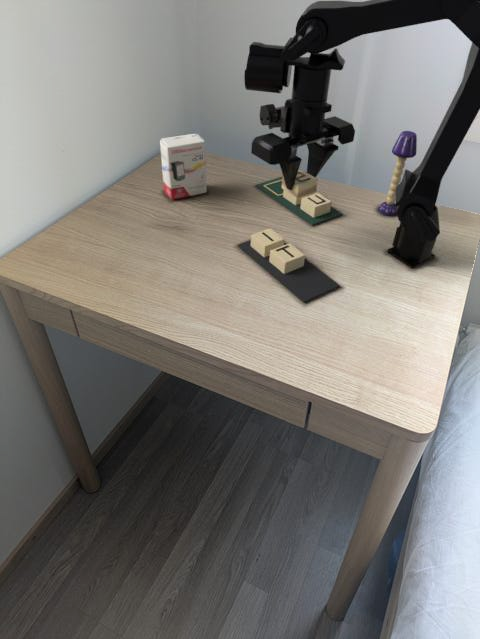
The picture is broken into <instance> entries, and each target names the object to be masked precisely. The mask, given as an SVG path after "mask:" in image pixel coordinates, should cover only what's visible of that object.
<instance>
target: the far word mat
mask: <svg viewBox="0 0 480 639" xmlns="http://www.w3.org/2000/svg"><path fill="white" fill-rule="evenodd" d="M282 178H283V176H281V177H277V178H274V179H271V180H268V181H263V182H261V183H258V184H255V187H256V188H257V189H259V190H260V191H262V192H263V193H265V194H266V195H267V196H269V197H271V199H273V200H274V201H276V202H278V203H279V204H280V205H282V206H283V207H285V208H286V209H287V210H289V211H290V212H292V213H293V214H295V215H296V216H297V217H299V218H300V219H302V220H304V221H305V222H306V223H308V225H311V227H314V226H316V225H319V224H322V223H325V222H327V221H329V220H332V219H335V218H338V217H340V216H343V214H342V212H340V211H339V210H338V209H336V208H333V206H332V203H333V202H332V200H330V199H328V198H327V197H325V196H324V195H322V194H320V193H319V192H315V193H311V194H308V195H305V196H302V197H299V198H296V197H295V196H293V195H292V194H290V193H289V192H287V191H285V190H284V189H282Z"/></svg>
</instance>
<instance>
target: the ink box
mask: <svg viewBox="0 0 480 639" xmlns="http://www.w3.org/2000/svg"><path fill="white" fill-rule="evenodd" d="M159 146H160V147H159V148H160V159H161V160H160V161H161V172H162V173H161V174H162V185H163V192H164V194H165V195H166V196H167V197H168V198H170V200H177V199H183V198H188V197H192V196H196V195H197V196H198V195H201V194H206V193H207V192H208V191H207V163H206V141H205V140H204V138H203V137H202V136H201V135H199V134H198V133H189V134H182V135H177V136H168V137H161V139H160V140H159Z"/></svg>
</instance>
